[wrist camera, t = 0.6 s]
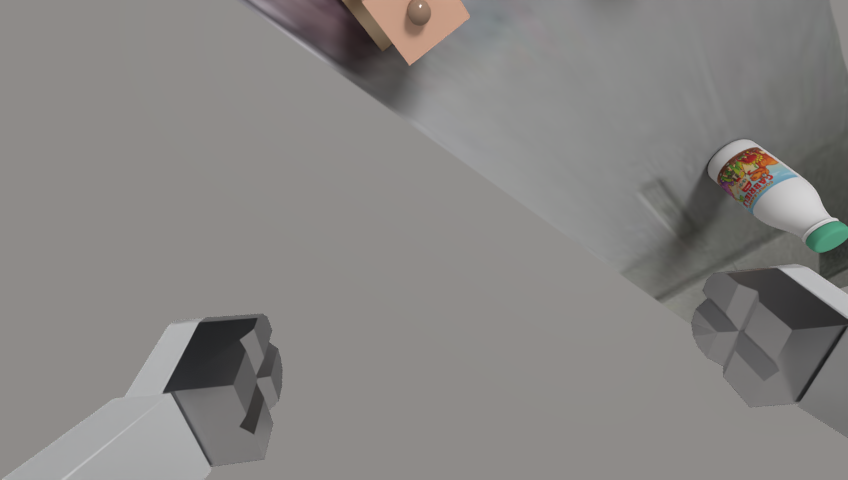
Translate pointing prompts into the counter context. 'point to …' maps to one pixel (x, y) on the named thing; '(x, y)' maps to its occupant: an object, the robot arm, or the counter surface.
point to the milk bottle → (775, 194)
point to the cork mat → (368, 23)
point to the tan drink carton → (417, 22)
